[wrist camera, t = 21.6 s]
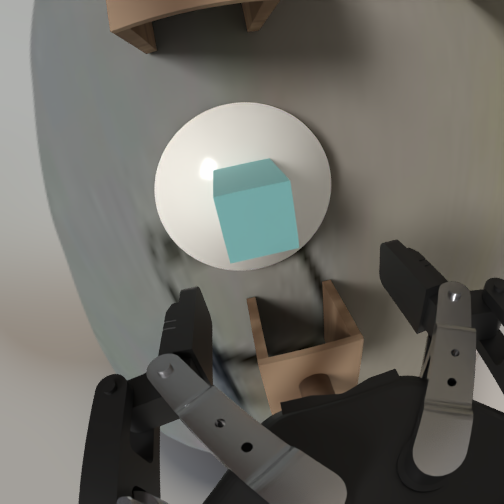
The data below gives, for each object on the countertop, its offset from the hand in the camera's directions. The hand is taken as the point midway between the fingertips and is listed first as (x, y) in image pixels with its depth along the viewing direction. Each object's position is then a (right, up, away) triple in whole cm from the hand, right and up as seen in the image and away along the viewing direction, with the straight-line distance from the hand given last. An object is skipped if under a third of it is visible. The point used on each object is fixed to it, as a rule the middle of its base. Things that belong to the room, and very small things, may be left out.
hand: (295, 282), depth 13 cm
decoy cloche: (+2, -6, +17) cm, 18 cm away
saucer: (-2, +6, +10) cm, 12 cm away
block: (-2, +6, +9) cm, 10 cm away
